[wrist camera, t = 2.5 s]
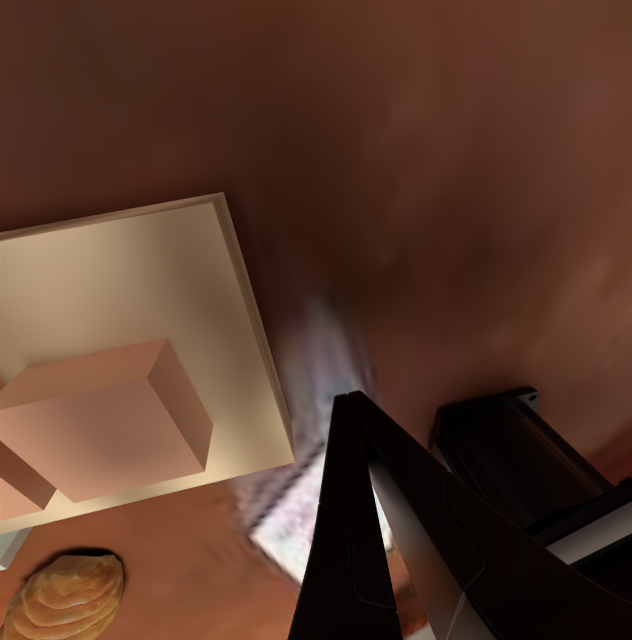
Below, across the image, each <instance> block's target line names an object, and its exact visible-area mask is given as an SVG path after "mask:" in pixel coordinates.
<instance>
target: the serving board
mask: <svg viewBox="0 0 632 640" xmlns="http://www.w3.org/2000/svg"><path fill="white" fill-rule="evenodd" d="M167 337H168V339H169V341H170V343H171V345H172V347H173V348H174V350H175V352H176V354H177V356H178V358H179V360H180V362H181V364H182V366H183V368H184V370H185V372H186V374H187V376H188V377H189V379H190V381H191V383H192V385H193V387H194V389H195V391H196V393H197V395H198V397H199V399H200V401H201V403H202V404H203V406H204V408H205V410H206V412H207V414H208V416H209V418H210V420H211V422H212V424H213V430H212V436H211V441H210V447H209V452H208V458H207V463H206V469H205V472H201V473H197V474H193V475H189V476H185V477H181V478H177V479H172V480H168V481H164V482H160V483H156V484H152V485H148V486H143V487H139V488H135V489H131V490H127V491H123V492H119V493H114V494H110V495H106V496H102V497H98V498H94V499H89V500H85V501H81V502H77V503H73V502H72V501H71V500H70V499H68V498H67V497H66V496H65V495H64V494H63V493H61V492H60V491H59V490H58V489H57V490H56V492H55V493H54V495H53V496H52V498H51V500H50V501H49V503H48V505H47V506H46V508H45V509H44V511H40V512H36V513H31V514H27V515H23V516H19V517H15V518H11V519H7V520H2V521H0V534H3V533H7V532H11V531H15V530H20V529H24V528H28V527H32V526H36V525H40V524H44V523H48V522H52V521H56V520H61V519H65V518H69V517H73V516H77V515H81V514H85V513H89V512H93V511H97V510H102V509H106V508H110V507H114V506H118V505H122V504H126V503H130V502H134V501H138V500H143V499H147V498H151V497H155V496H159V495H163V494H167V493H171V492H175V491H179V490H184V489H188V488H192V487H196V486H200V485H204V484H208V483H212V482H216V481H220V480H225V479H229V478H233V477H237V476H241V475H245V474H249V473H253V472H257V471H261V470H266V469H270V468H274V467H278V466H282V465H286V464H290V463H294V462H295V454H294V445H293V435H292V426H291V419H290V416H289V413H288V409H287V406H286V402H285V399H284V396H283V392H282V389H281V385H280V382H279V379H278V375H277V372H276V368H275V365H274V362H273V358H272V355H271V351H270V348H269V345H268V341H267V338H266V334H265V331H264V328H263V324H262V321H261V317H260V314H259V311H258V307H257V304H256V300H255V297H254V294H253V290H252V287H251V283H250V280H249V277H248V273H247V270H246V266H245V263H244V260H243V256H242V253H241V249H240V246H239V243H238V239H237V236H236V232H235V229H234V226H233V222H232V219H231V215H230V212H229V209H228V205H227V202H226V198H225V195H224V192H220V193H215V194H209V195H204V196H198V197H192V198H187V199H181V200H176V201H170V202H165V203H159V204H154V205H148V206H143V207H137V208H132V209H126V210H121V211H115V212H110V213H104V214H99V215H93V216H88V217H82V218H77V219H71V220H66V221H60V222H55V223H49V224H44V225H38V226H33V227H27V228H22V229H16V230H11V231H5V232H0V381H1V382H2V383H3V384H4V385H5V386H6V385H7V384H8V383H9V382H10V381H12V380H13V379H14V378H15V377H16V376H17V375H18V374H19V373H21V372H22V371H23V370H24V369H25V368H26V367H29V366H34V365H39V364H44V363H48V362H53V361H58V360H63V359H67V358H72V357H77V356H82V355H86V354H91V353H96V352H101V351H105V350H110V349H115V348H120V347H124V346H129V345H134V344H139V343H143V342H148V341H153V340H158V339H162V338H167Z"/></svg>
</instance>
